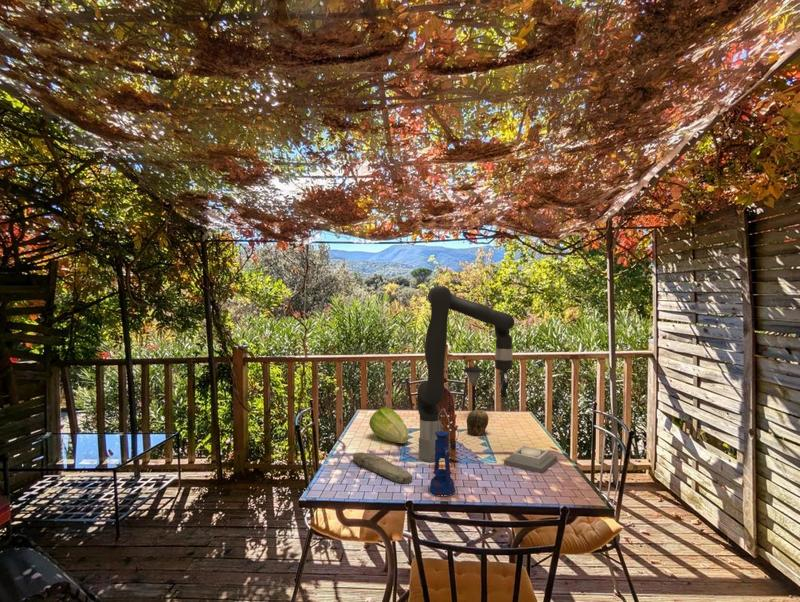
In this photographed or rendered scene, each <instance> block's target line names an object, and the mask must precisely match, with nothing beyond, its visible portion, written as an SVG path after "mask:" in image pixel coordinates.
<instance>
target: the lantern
mask: <svg viewBox="0 0 800 602" xmlns="http://www.w3.org/2000/svg"><path fill="white" fill-rule="evenodd" d="M439 411H440V413H441V412H443V411H444V414H445V415H446V416H445V417H446V419H447V420H448V421H447V422H448V431H444V424H442V423H441V425H440V429H441V431H439V414H440V413H439V414H438V431H437V432H435V435H436V436H437V439H436V440H435V455H434V456H435V461H434V466H433V467H434V470H433V473H432V474H434V476H433V477H431V479H430V482H429V484H430V485H429V490H428V491H430V492H431V493H432V494H431V493H430V492H429V493H430V494H431V495H433V494H434V495H433V496H435V495H440V496H439V497H441V495H443V496H444V495H450V494H453V493H454V492H455V493H456V487H455V482H454V480H453V478H452V477H451V474H452V472H451V464H450V457H451V455H450V453H451V425H450V423H451V422H450V419H449V416H448V414H447V412H446V409H445V408H442V409H441V410H439ZM447 438H448V439H447ZM439 458H441V459H444V466H445V467H444V468H440V460H439ZM455 493H454V494H455ZM454 494H453V495H454ZM450 496H451V495H450Z"/></svg>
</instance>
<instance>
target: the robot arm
mask: <svg viewBox="0 0 800 602" xmlns="http://www.w3.org/2000/svg"><path fill="white" fill-rule="evenodd" d="M427 299H428V303H430V306H431V307H430V308H431V309H430V312H431V313H430V320H429V324H428V327H427V330H426V335H425V339H424V340H425V341H424V357H425V361H426V366H427V380H424V381H422V382H421V383H420V384H419V386H418V389H417V393H416V395H417V396H416V397H417V398H416V399H417V411H418V414H419V438H418V460H420V461H425V462H427V463H432V462H435V456H434V455H435V440H436V439H437V436H436V435H435V432H437V431H438V414H439V413H440V411H441V410H440V409H439V407H438V405H439V404H440V403H441V402H442V400H443V399H444V395H445V394H444V393H445V390H444V389H445V387H444V385H445V383H444V382H445V380H444V379H445V378H444V374H445V373H444V372H445V364H446V363H445V361H446V352H447V342H448V341H447V338H448V317H449V311H450V310H452V311H455V312H458V313H460V314H462V315H465V316H468V317H470V318H472V319H475V320H477V321H479V322H482V323H485V324H490V325H492V326H494V333H495V351H494V353H495V354H494V356H495V357H494V368H495V370H499V372H498V375H497V377H498V383H499V384H498V385H499V388H500V398H504V399H505V398H507V389H508V387H509V382H510V377H509V375H510V374H509V373H508V371H510V370H513V338H512V336H511V334H510V330H511V329H513V327H514V326H515V319H514V318H513V316H512V315H511V314H509V313H506V312H503V311H500V310H496V309H493V308H491V307H489V306H486V305H484V304H481V303H478V302H476V301H473V300H472V301H471V300H468V299H465V298H461V297H460V296H456V295H454V294H452V293H451V291H450V288H448V287H446V286H445V285H438V286H434V287H432V288H431V289H429V291H428V293H427ZM441 424H442V414H441V413H440V414H439V431H442V428H441V429H440V425H441ZM441 426H442V425H441ZM441 459H442V458H439V461H440V460H441Z"/></svg>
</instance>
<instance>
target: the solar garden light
mask: <svg viewBox="0 0 800 602" xmlns="http://www.w3.org/2000/svg"><path fill="white" fill-rule="evenodd" d="M462 372H464V373H466V375H467V378H468V380H469V382H470V384H471V411H474V410H476V385H477V382H478V380H479V377H480V376H481V373H484V372H485V370H484V369H483V368H481V367H478V366H469V367H466V368H465V369H462Z"/></svg>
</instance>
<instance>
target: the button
mask: <svg viewBox="0 0 800 602" xmlns="http://www.w3.org/2000/svg"><path fill="white" fill-rule="evenodd" d="M539 449H540V448H536V447H531V446H527V447H525V448H522V449H521V454H523V455H528V456H533V457H537V458H538V457H539V456H540V455H541V451H540V450H539Z"/></svg>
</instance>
